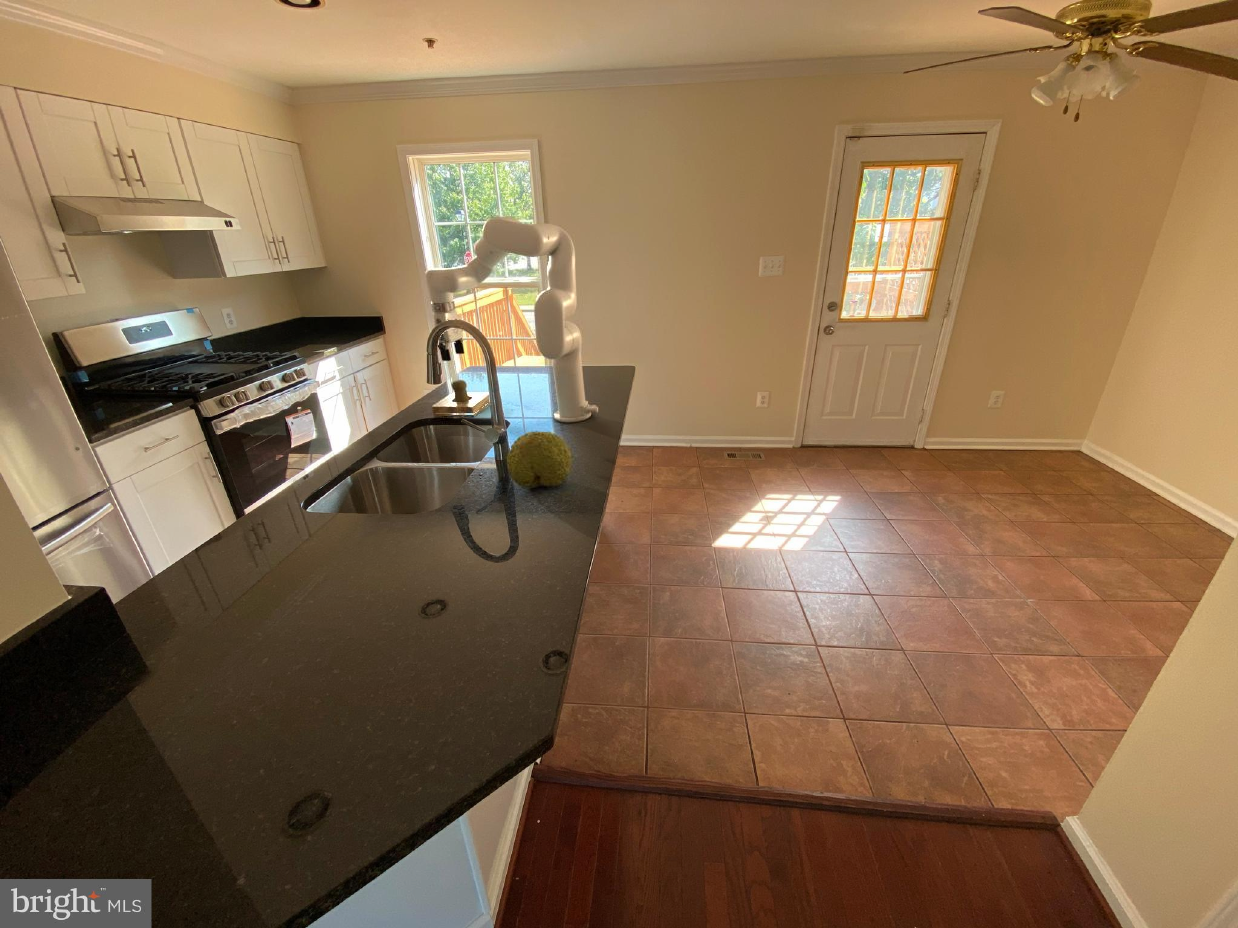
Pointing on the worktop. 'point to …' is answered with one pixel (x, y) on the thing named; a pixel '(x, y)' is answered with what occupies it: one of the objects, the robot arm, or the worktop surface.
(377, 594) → the worktop surface
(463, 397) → the cork
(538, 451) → the fruit
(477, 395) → the stand
